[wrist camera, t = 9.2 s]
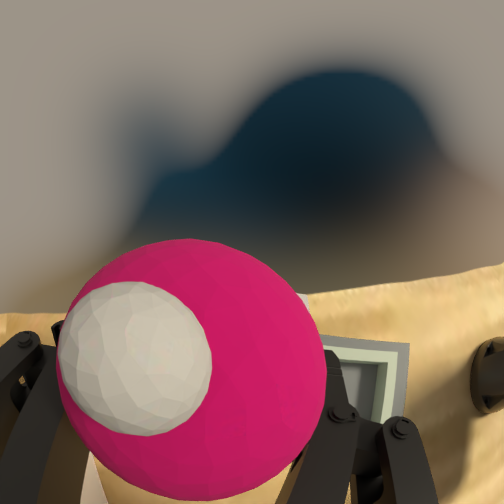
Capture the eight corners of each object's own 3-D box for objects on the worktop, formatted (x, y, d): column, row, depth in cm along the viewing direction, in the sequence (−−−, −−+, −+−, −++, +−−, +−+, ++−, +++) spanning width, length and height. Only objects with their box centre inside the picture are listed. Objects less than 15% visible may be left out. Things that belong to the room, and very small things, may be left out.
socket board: (404, 345, 36) (420, 339, 32) (392, 444, 28) (408, 448, 24) (280, 330, 37) (285, 323, 33) (260, 441, 29) (262, 449, 25)
